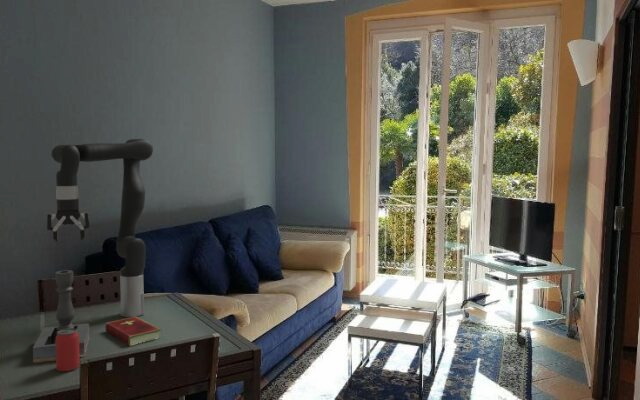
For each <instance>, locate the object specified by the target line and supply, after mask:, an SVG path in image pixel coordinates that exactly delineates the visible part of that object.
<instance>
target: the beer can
mask: <svg viewBox="0 0 640 400" xmlns="http://www.w3.org/2000/svg"><path fill="white" fill-rule="evenodd" d="M55 361H56V362H55V366H56V367H55V368H56V370H57V371H58V372H62V371H63V372H65V371H66V372H71V371H75V370H76V369H77V368H79V367H80V365H79V363H80V358H79V335H78V333H77V329H74V328H68V329H62V330H60V331H58V332H57V336H56V360H55Z"/></svg>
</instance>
